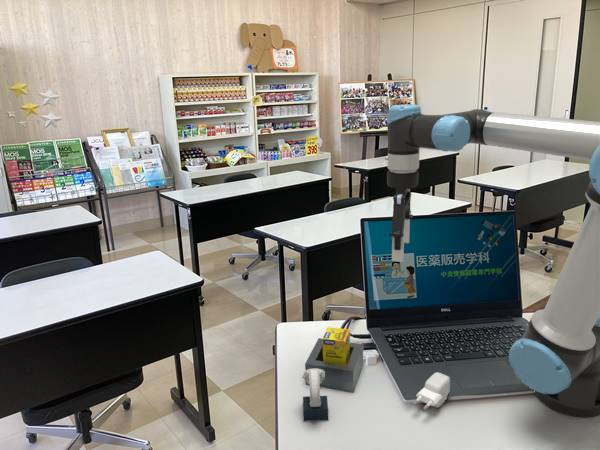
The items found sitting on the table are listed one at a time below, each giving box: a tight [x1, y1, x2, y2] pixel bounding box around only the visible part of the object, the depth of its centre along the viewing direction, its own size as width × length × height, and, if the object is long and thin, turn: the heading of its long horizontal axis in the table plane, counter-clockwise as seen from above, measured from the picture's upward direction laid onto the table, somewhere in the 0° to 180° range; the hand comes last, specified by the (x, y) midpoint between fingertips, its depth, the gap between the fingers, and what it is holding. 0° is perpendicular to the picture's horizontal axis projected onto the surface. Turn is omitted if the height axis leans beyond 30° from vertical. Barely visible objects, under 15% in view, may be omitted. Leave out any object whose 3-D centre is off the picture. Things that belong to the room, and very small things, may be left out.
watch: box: [301, 369, 329, 422], centre depth 106 cm, size 6×8×11 cm
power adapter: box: [412, 371, 451, 411], centre depth 107 cm, size 11×5×6 cm, turn 137°
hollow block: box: [304, 337, 364, 393], centre depth 120 cm, size 12×12×6 cm
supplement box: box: [321, 326, 351, 365], centre depth 119 cm, size 6×6×11 cm
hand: (400, 251), depth 122 cm, fingers open, 13 cm apart
